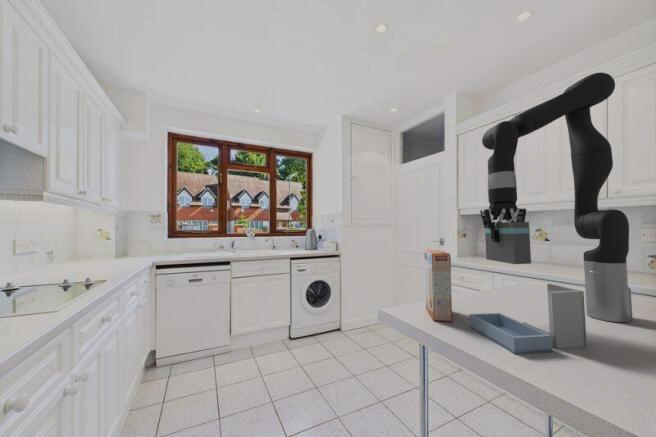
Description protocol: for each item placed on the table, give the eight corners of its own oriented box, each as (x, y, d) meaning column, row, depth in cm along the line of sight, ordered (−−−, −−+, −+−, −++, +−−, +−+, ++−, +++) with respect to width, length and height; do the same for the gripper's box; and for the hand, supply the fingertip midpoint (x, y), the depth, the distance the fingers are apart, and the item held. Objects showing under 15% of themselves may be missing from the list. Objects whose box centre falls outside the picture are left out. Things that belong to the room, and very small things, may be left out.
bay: (551, 332, 72) (549, 283, 72) (586, 346, 63) (583, 291, 63) (523, 333, 71) (521, 284, 72) (554, 348, 62) (551, 292, 63)
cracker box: (453, 322, 80) (451, 253, 81) (432, 321, 82) (430, 253, 82) (443, 308, 94) (441, 249, 95) (425, 307, 95) (423, 249, 96)
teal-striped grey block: (500, 258, 88) (498, 222, 89) (531, 263, 76) (529, 221, 76) (486, 259, 88) (484, 223, 88) (514, 264, 76) (512, 222, 76)
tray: (499, 325, 77) (499, 312, 77) (552, 351, 61) (551, 335, 61) (469, 326, 76) (469, 314, 77) (514, 354, 60) (513, 337, 60)
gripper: (488, 186, 79) (491, 243, 78) (533, 185, 80) (536, 241, 80) (472, 189, 87) (475, 242, 86) (514, 189, 88) (516, 240, 87)
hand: (504, 241), depth 83 cm, fingers closed on teal-striped grey block, 5 cm apart
